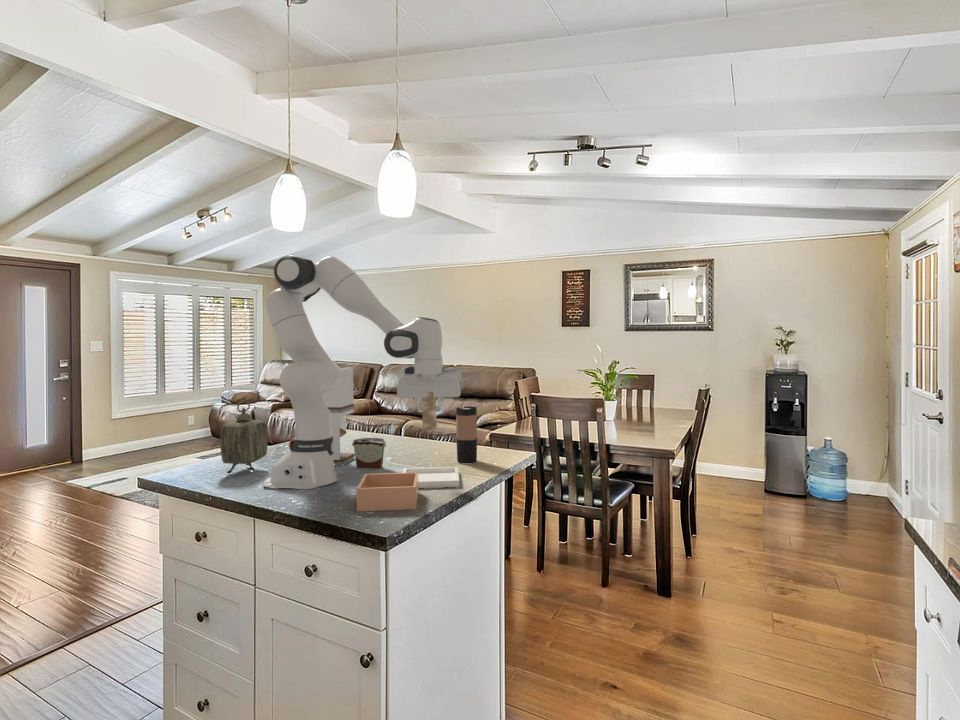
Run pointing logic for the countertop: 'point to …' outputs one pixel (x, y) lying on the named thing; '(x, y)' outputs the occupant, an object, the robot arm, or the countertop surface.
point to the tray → (436, 476)
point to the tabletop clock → (243, 440)
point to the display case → (340, 412)
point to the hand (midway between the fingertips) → (429, 411)
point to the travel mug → (466, 434)
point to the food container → (369, 452)
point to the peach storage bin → (388, 492)
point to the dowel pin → (429, 411)
